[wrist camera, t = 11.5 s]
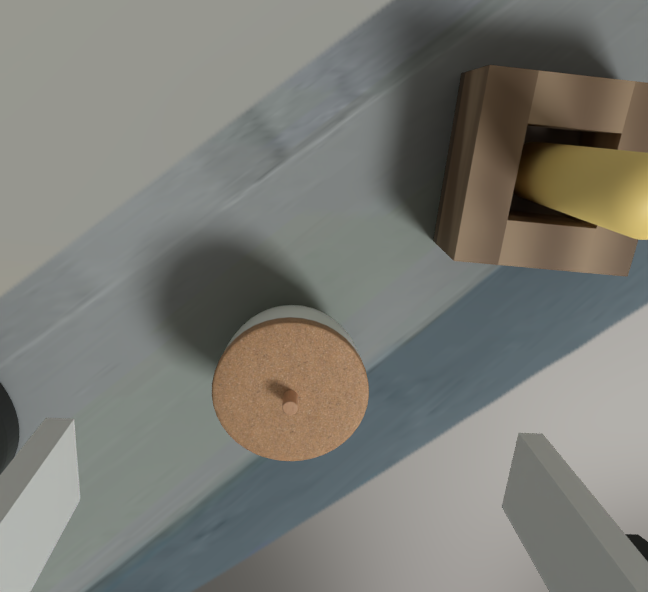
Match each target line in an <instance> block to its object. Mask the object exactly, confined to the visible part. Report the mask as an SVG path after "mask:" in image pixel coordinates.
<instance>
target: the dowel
mask: <svg viewBox="0 0 648 592" xmlns="http://www.w3.org/2000/svg"><path fill="white" fill-rule="evenodd" d="M513 194H515V195H517V196H519V197H521V198H524V199H527V200H529V201H532V202H535V203H538V204H540V205H543V206H546V207H549V208H551V209H554V210H557V211H560V212H562V213H565V214H568V215H570V216H573V217H576V218H579V219H581V220H584V221H587V222H590V223H592V224H595V225H598V226H600V227H603V228H606V229H609V230H611V231H614V232H617V233H620V234H622V235H625V236H628V237H631V238H634V239H639V240H647V239H648V153H645V152H635V151H625V150H614V149H604V148H594V147H584V146H574V145H564V144H554V143H544V142H529V143H526V144H523V149H522V154H521V158H520V163H519V168H518V172H517V177H516V182H515V187H514V191H513Z"/></svg>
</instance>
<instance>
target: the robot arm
mask: <svg viewBox="0 0 648 592" xmlns="http://www.w3.org/2000/svg"><path fill="white" fill-rule="evenodd" d="M18 442H19V424H18V418H17V414H16V411H15V408H14V406H13V403H12V401H11V399H10V397H9V395H8V394H7V392H6V391H5V389H4V388H3V386H2V385H1V384H0V592H30V591H31V590H32V588H33V586H34V584H35V582H36V580H37V579H38V577H39V575H40V573H41V571H42V569H43V567H44V566H45V564H46V562H47V560H48V558H49V556H50V554H51V553H52V551H53V549H54V547H55V545H56V543H57V541H58V540H59V538H60V536H61V534H62V532H63V530H64V529H65V527H66V525H67V523H68V521H69V519H70V517H71V516H72V514H73V512H74V510H75V508H76V506H77V504H78V503H79V501H80V489H79V476H78V463H77V450H76V437H75V424H74V419H61V418H46V419H45V420H44V421H43V422H42V424H41V425H40V426H39V427H38V428H37V430H36V431H35V432H34V433H33V435H32V436H31V437H30V438H29V440H28V441H27V442H26V443H25V445H24V446H23V447H22V448H21V450H20V451H19V452H18V453H17V455H16V456H15V453H16V450H17V447H18ZM14 456H15V457H14ZM502 508H503V510H504V512H505V513H506V515H507V517H508V519H509V521H510V522H511V524H512V526H513V528H514V529H515V531H516V533H517V535H518V537H519V538H520V540H521V542H522V544H523V545H524V547H525V549H526V551H527V553H528V554H529V556H530V558H531V560H532V562H533V563H534V565H535V567H536V569H537V570H538V572H539V574H540V576H541V578H542V579H543V581H544V583H545V585H546V586H547V588H548V590H549V592H648V542H647V541H646V540H645V539H643V538H642V537H641V536H639V535H631V534H629V535H628V534H624V532H623V531H622V530H621V529H620V527H619V526H618V525H617V524H616V523H615V521H614V520H613V519H612V518H611V517H610V515H609V514H608V513H607V512H606V510H605V509H604V508H603V507H602V506H601V504H600V503H599V502H598V501H597V499H596V498H595V497H594V496H593V495H592V494H591V492H590V491H589V490H588V489H587V487H586V486H585V485H584V484H583V482H582V481H581V480H580V479H579V478H578V477H577V476H576V474H575V473H574V471H573V470H572V469H571V468H570V467H569V465H568V464H567V463H566V462H565V461H564V460H563V458H562V457H561V456H560V455H559V453H558V452H557V451H556V450H555V448H554V447H553V446H552V445H551V444H550V442H549V441H548V440H547V439H546V438H545V436H544V435H543V434H534V433H532V434H531V433H519V434H518V438H517V442H516V447H515V451H514V456H513V460H512V464H511V469H510V473H509V478H508V482H507V486H506V491H505V496H504V500H503V505H502Z"/></svg>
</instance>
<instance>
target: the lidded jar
mask: <svg viewBox="0 0 648 592" xmlns="http://www.w3.org/2000/svg"><path fill="white" fill-rule="evenodd" d="M368 396H369V387H368V379H367V375H366V370H365V367H364V365H363V362H362V360H361V358H360V355H359V353H358V350H357V348H356V346H355V344H354V342H353V341H352V339H351V338H350V336H349V334H348V333H347V332H346V331H345V330H344V328H343V327H342V326H341V325H340V324H339V323H338V322H336V321H335V320H334V319H333V318H332V317H330V316H328V315H327V314H325V313H323V312H321V311H319V310H316V309H314V308H310V307H306V306H300V305H284V306H278V307H273V308H270V309H268V310H265V311H262V312H261V313H259V314H257V315H255V316H254V317H252V318H251V319H250V320H249V321H247V322H246V323H245V324H244V325H242V326H241V328H240V329H239V330H238V331H237V332H236V333H235V335H234V336H233V337H232V339H231V340H230V342H229V344H228V345H227V347H226V349H225V351H224V353H223V355H222V356H221V358H220V360H219V362H218V365H217V367H216V370H215V373H214V378H213V382H212V399H213V406H214V409H215V412H216V415H217V417H218V419H219V421H220V423H221V425H222V426H223V428H224V429H225V430H226V431H227V433H228V434H229V435H230V436H231V437H232V438H233V439H234V440H235V441H236V442H237V443H239V444H240V445H241V446H243V447H244V448H246V449H247V450H249V451H251V452H253V453H255V454H257V455H260V456H263V457H266V458H270V459H275V460H280V461H300V460H306V459H311V458H315V457H318V456H321V455H323V454H326V453H328V452H330V451H332V450H333V449H335V448H337V447H338V446H339V445H341V444H342V443H344V442H345V441H346V440H347V439H348V438H349V437H350V436H351V435H352V434H353V433H354V431H355V430H356V429H357V427H358V426H359V424H360V422H361V420H362V418H363V416H364V414H365V411H366V408H367V404H368Z"/></svg>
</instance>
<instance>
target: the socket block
mask: <svg viewBox="0 0 648 592" xmlns="http://www.w3.org/2000/svg"><path fill="white" fill-rule="evenodd" d="M529 142H544V143H554V144H564V145H574V146H584V147H594V148H604V149H614V150H625V151H635V152H645V153H648V83H644V82H636V81H627V80H618V79H609V78H601V77H592V76H583V75H574V74H566V73H557V72H548V71H539V70H531V69H522V68H513V67H504V66H496V65H488V66H484V67H481V68H478V69H474V70H471V71H468V72H464V73H461V79H460V85H459V91H458V97H457V103H456V109H455V115H454V121H453V127H452V132H451V138H450V144H449V150H448V156H447V162H446V168H445V174H444V180H443V186H442V192H441V198H440V204H439V209H438V215H437V221H436V227H435V233H434V239H433V241H434V242H435V243H436V244H437V245H438V246H439V247H440V248H441V249H442V250H443V251H444V252H445V253H446V254H447V255H448V256H449V257H450V258H452V259H453V260H454V261H462V262H473V263H484V264H495V265H506V266H517V267H528V268H539V269H550V270H562V271H573V272H584V273H595V274H606V275H617V276H628V273H629V269H630V266H631V263H632V259H633V256H634V252H635V249H636V246H637V242H638V239H634V238H631V237H628V236H625V235H622V234H620V233H617V232H614V231H611V230H609V229H606V228H603V227H600V226H598V225H595V224H592V223H590V222H587V221H584V220H581V219H579V218H576V217H573V216H570V215H568V214H565V213H562V212H560V211H557V210H554V209H551V208H549V207H546V206H543V205H540V204H538V203H535V202H532V201H529V200H527V199H524V198H521V197H519V196H517V195H515V194H513V191H514V187H515V182H516V177H517V172H518V168H519V163H520V158H521V154H522V149H523V144H526V143H529Z"/></svg>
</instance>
